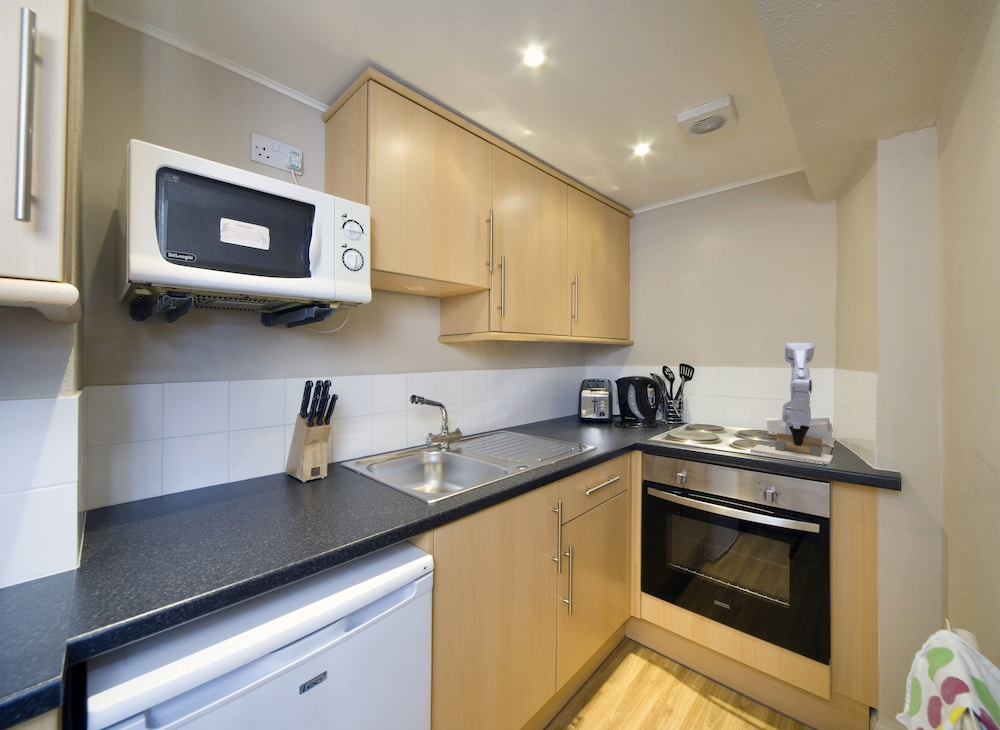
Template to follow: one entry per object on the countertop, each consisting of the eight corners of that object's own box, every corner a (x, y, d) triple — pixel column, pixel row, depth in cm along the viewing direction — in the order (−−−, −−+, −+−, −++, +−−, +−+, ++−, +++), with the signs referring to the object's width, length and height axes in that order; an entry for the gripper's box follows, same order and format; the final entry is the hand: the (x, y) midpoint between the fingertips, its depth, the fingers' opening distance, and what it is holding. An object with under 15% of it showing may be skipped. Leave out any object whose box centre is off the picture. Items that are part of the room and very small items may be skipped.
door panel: (777, 447, 160) (777, 432, 160) (822, 454, 150) (822, 438, 150) (776, 448, 158) (776, 433, 158) (821, 455, 148) (821, 439, 148)
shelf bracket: (830, 448, 167) (824, 418, 169) (769, 447, 189) (764, 420, 191) (837, 447, 169) (831, 417, 171) (776, 446, 191) (771, 420, 193)
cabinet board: (758, 446, 167) (758, 436, 167) (832, 458, 150) (833, 446, 150) (750, 451, 157) (751, 440, 157) (829, 464, 141) (829, 452, 141)
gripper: (790, 407, 162) (789, 440, 162) (783, 410, 151) (782, 446, 152) (812, 409, 157) (811, 443, 157) (807, 412, 146) (805, 449, 147)
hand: (798, 445), depth 154 cm, fingers closed on door panel, 2 cm apart
